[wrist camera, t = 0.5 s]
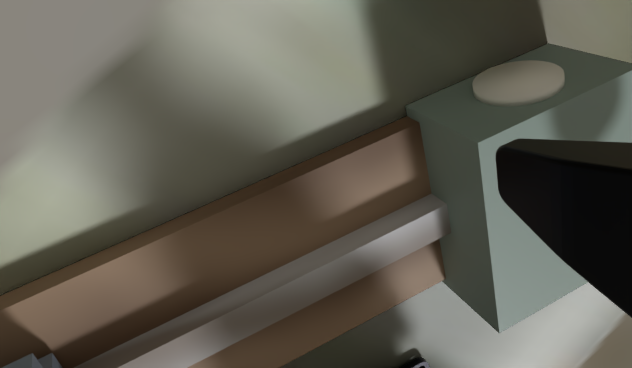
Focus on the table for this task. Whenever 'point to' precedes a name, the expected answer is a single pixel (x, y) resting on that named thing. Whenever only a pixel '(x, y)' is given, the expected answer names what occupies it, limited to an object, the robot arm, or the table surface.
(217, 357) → the rail track
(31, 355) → the grey peg on base
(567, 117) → the grey green box
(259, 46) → the table surface
